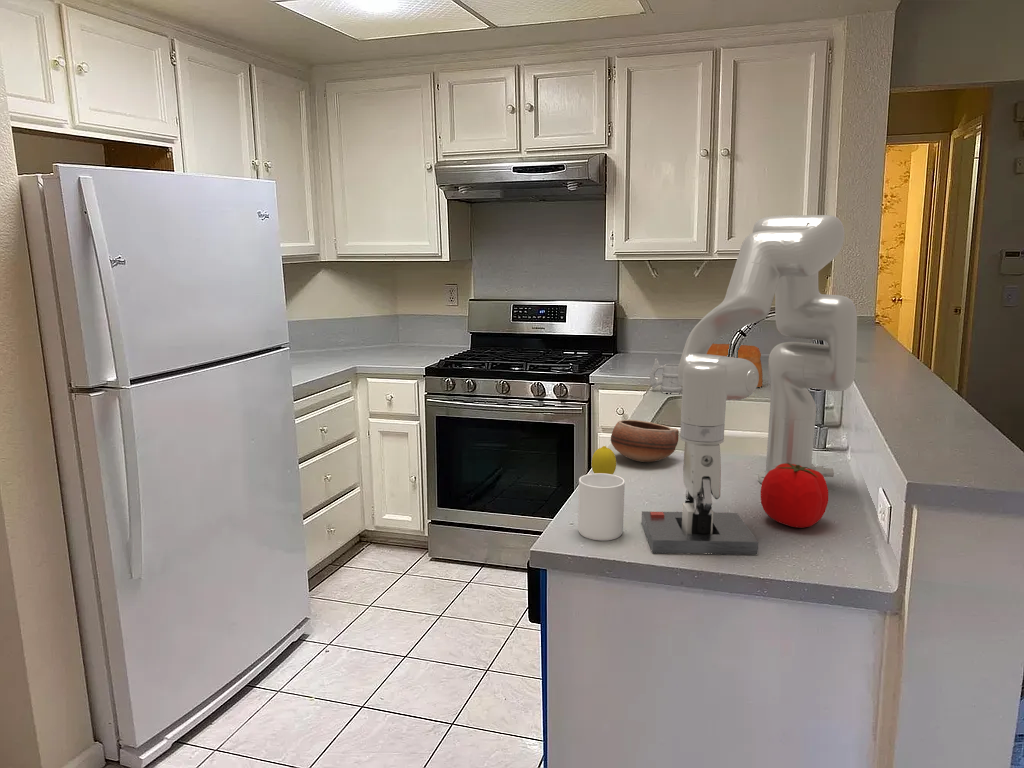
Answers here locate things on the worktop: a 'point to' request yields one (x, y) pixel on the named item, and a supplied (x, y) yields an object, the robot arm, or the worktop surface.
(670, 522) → the socket
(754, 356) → the bread
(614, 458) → the lemon
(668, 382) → the mug
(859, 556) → the worktop surface
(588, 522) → the cup
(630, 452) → the bowl
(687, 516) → the plug
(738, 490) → the worktop surface
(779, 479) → the tomato
